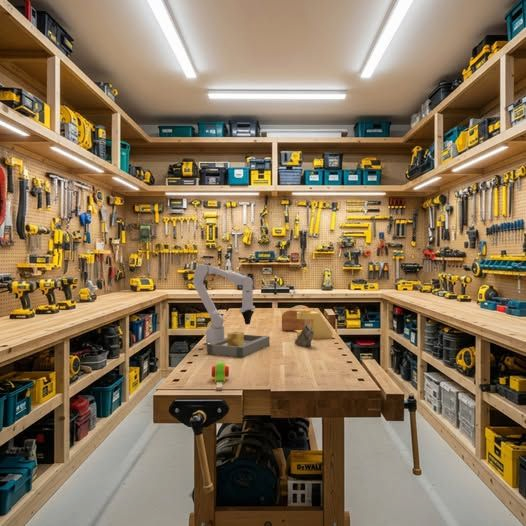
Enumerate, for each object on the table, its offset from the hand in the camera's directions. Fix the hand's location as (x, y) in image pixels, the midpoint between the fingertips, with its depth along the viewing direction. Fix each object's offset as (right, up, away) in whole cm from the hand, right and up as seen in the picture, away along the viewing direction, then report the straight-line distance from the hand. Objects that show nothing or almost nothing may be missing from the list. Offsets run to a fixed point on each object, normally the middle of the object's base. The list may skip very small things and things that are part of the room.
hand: (247, 324), depth 215 cm
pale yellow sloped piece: (+38, -11, +19) cm, 44 cm away
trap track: (-3, -10, -14) cm, 18 cm away
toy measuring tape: (-7, -11, -70) cm, 72 cm away
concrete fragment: (+30, -11, -5) cm, 32 cm away
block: (-5, -7, -18) cm, 21 cm away
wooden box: (+31, -11, +53) cm, 63 cm away
